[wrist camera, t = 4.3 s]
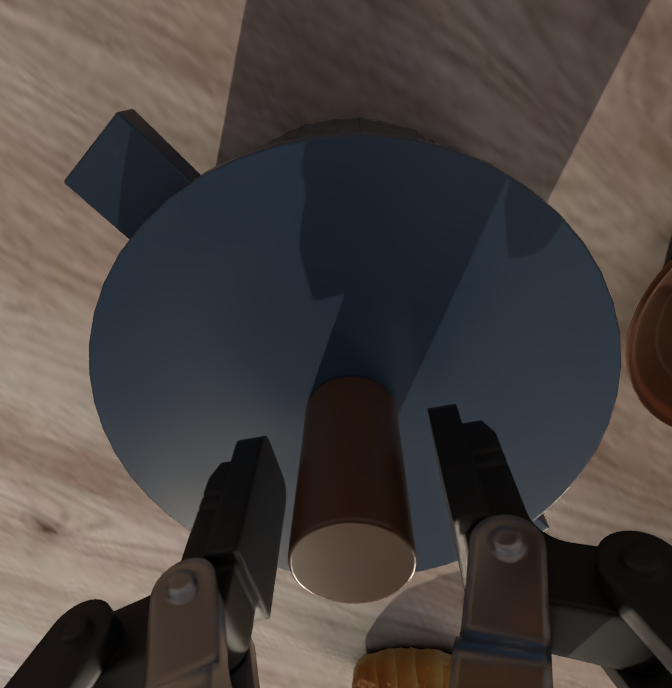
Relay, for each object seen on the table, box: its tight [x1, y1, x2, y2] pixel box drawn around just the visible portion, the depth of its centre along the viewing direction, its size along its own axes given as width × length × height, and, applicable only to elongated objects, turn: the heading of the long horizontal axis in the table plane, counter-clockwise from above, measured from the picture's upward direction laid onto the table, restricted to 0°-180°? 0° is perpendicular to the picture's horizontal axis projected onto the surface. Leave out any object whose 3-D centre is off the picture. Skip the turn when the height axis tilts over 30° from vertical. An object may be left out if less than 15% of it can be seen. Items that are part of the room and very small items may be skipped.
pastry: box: [352, 646, 452, 688], centre depth 37 cm, size 9×7×4 cm
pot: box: [64, 109, 549, 531], centre depth 19 cm, size 14×19×10 cm
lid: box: [89, 132, 621, 604], centre depth 13 cm, size 15×15×6 cm
